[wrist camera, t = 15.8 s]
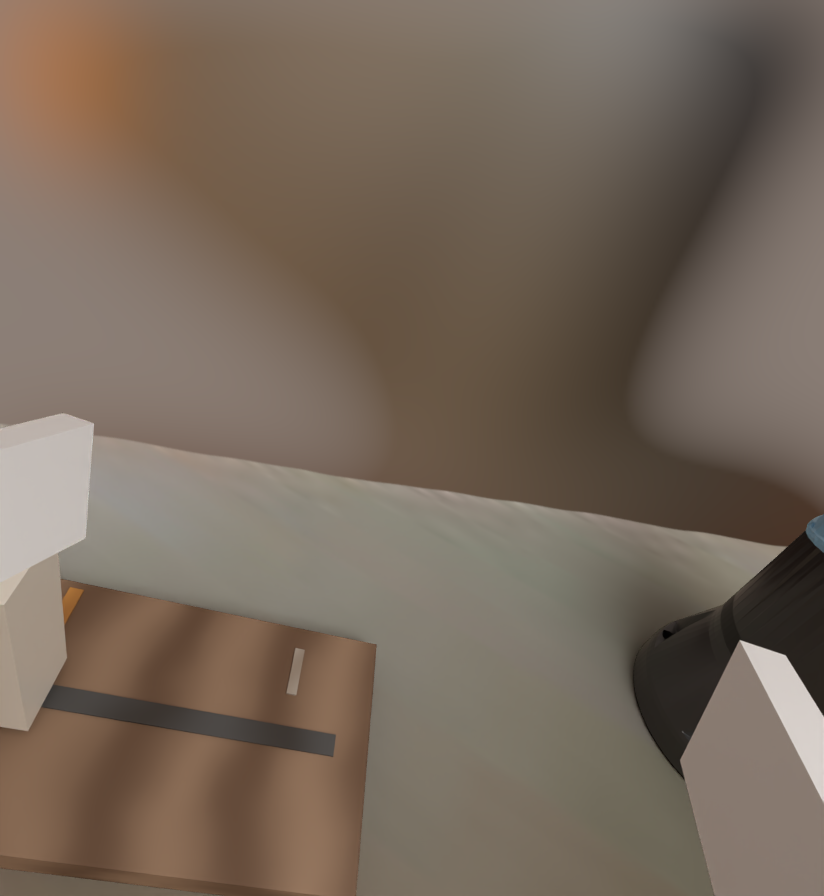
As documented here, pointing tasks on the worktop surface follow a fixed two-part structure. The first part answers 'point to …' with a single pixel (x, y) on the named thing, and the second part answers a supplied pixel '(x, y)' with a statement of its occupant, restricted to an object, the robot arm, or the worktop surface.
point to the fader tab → (30, 641)
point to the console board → (192, 753)
